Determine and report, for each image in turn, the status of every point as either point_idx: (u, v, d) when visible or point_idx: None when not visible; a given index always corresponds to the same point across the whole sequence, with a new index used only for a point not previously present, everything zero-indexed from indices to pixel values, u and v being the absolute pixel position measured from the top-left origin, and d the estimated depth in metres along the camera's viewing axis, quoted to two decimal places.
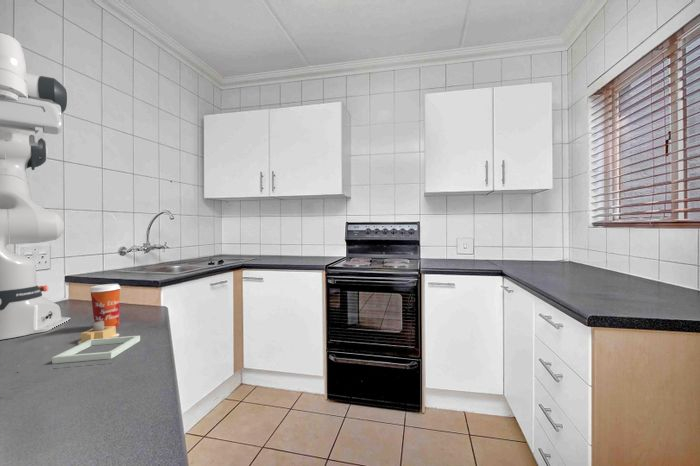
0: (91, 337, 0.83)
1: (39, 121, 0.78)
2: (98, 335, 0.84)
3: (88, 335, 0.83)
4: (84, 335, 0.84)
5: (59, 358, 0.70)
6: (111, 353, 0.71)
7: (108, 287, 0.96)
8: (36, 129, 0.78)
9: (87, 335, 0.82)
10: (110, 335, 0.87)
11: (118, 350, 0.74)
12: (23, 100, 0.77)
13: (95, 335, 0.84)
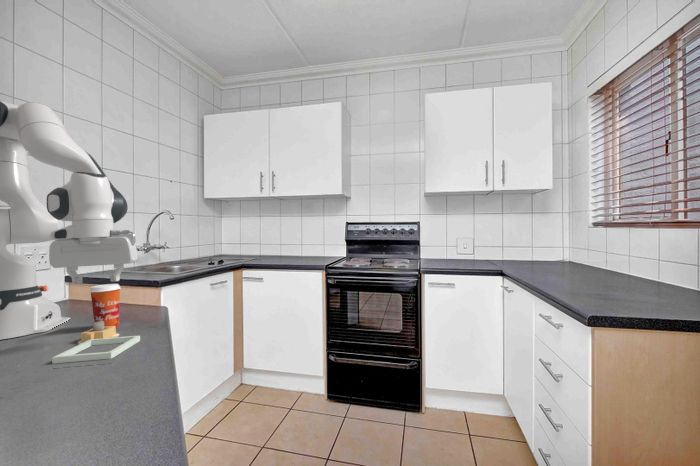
0: (91, 337, 0.83)
1: (114, 261, 0.85)
2: (98, 335, 0.84)
3: (88, 335, 0.83)
4: (84, 335, 0.84)
5: (59, 358, 0.70)
6: (111, 353, 0.71)
7: (108, 287, 0.96)
8: (114, 267, 0.86)
9: (87, 335, 0.82)
10: (110, 335, 0.87)
11: (118, 350, 0.74)
12: (103, 241, 0.85)
13: (95, 335, 0.84)
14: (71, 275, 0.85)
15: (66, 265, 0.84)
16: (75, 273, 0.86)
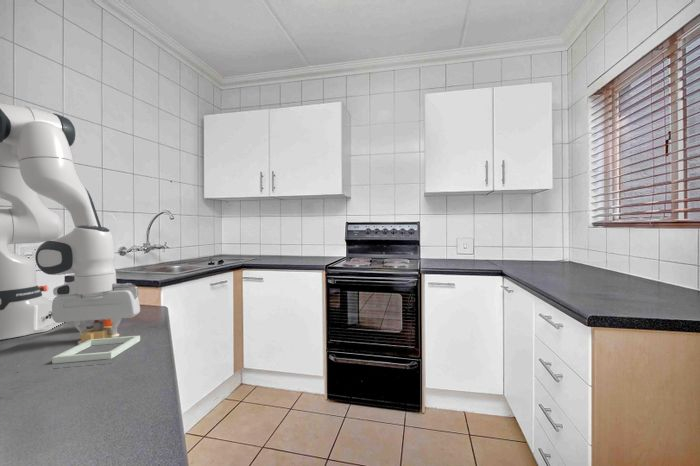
0: (91, 337, 0.83)
1: (117, 315, 0.85)
2: (98, 335, 0.84)
3: (88, 335, 0.83)
4: (84, 335, 0.84)
5: (59, 358, 0.70)
6: (111, 353, 0.71)
7: None
8: (112, 321, 0.86)
9: (87, 335, 0.82)
10: (110, 335, 0.87)
11: (118, 350, 0.74)
12: (106, 296, 0.85)
13: (95, 335, 0.84)
14: (79, 329, 0.85)
15: (69, 320, 0.84)
16: (83, 326, 0.86)
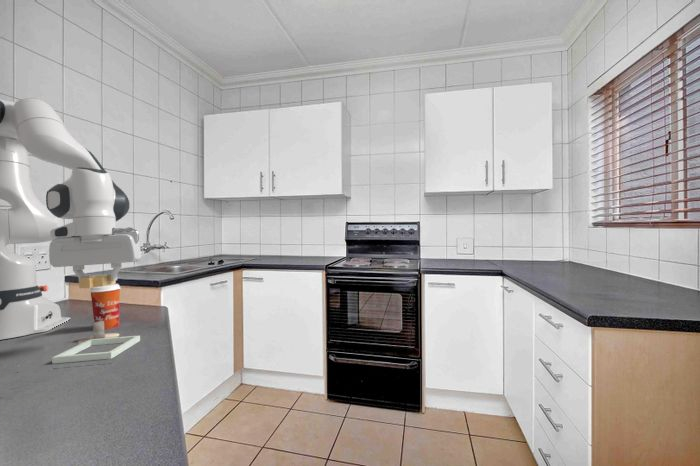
0: (90, 281, 0.80)
1: (117, 259, 0.82)
2: (97, 280, 0.81)
3: (87, 279, 0.79)
4: (82, 280, 0.80)
5: (59, 358, 0.70)
6: (111, 353, 0.71)
7: (108, 287, 0.96)
8: (112, 266, 0.83)
9: (86, 279, 0.79)
10: (110, 282, 0.84)
11: (118, 350, 0.74)
12: (106, 239, 0.82)
13: (94, 280, 0.81)
14: (78, 274, 0.82)
15: (67, 264, 0.81)
16: (82, 272, 0.83)
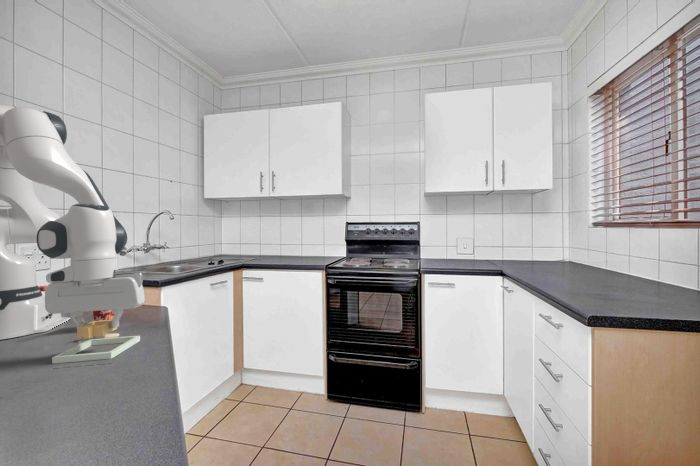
0: (89, 331, 0.72)
1: (119, 305, 0.75)
2: (97, 329, 0.74)
3: (85, 329, 0.72)
4: (81, 329, 0.73)
5: (59, 358, 0.70)
6: (111, 353, 0.71)
7: None
8: (113, 313, 0.76)
9: (84, 329, 0.72)
10: (111, 329, 0.77)
11: (118, 350, 0.74)
12: (106, 283, 0.75)
13: (93, 329, 0.73)
14: (76, 321, 0.75)
15: (64, 311, 0.74)
16: (80, 318, 0.76)
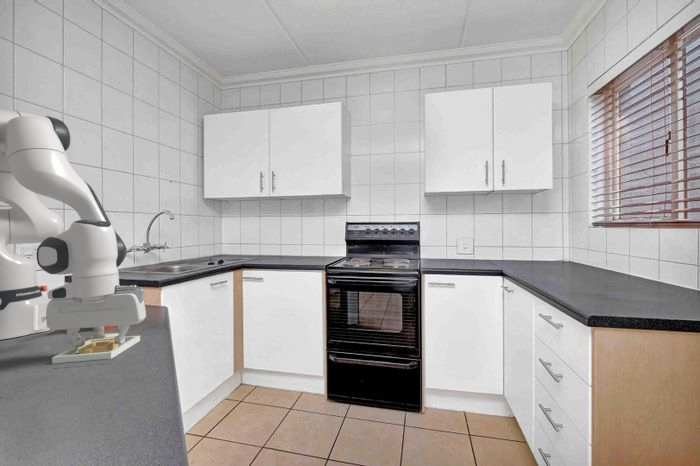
0: None
1: (120, 321, 0.75)
2: (98, 351, 0.74)
3: (87, 351, 0.72)
4: (82, 351, 0.73)
5: (59, 358, 0.70)
6: (111, 353, 0.71)
7: None
8: (119, 328, 0.76)
9: (86, 351, 0.72)
10: None
11: (118, 350, 0.74)
12: (108, 300, 0.75)
13: (95, 351, 0.74)
14: (72, 338, 0.75)
15: (65, 327, 0.74)
16: (77, 334, 0.76)
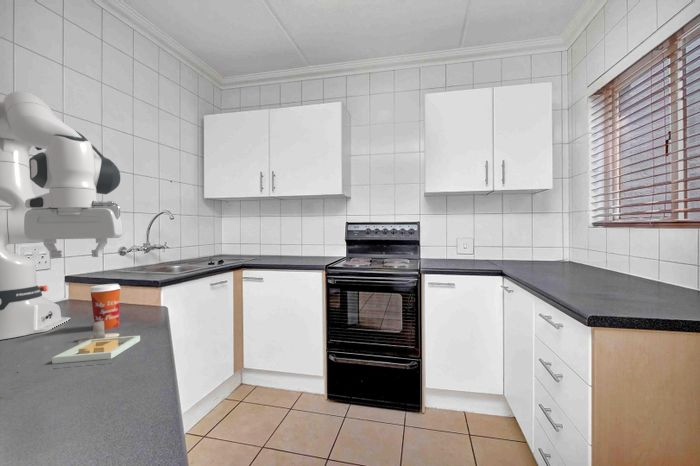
0: None
1: (96, 234, 0.78)
2: (98, 351, 0.74)
3: (87, 351, 0.72)
4: (82, 351, 0.73)
5: (59, 358, 0.70)
6: (111, 353, 0.71)
7: (108, 287, 0.96)
8: (96, 242, 0.79)
9: (86, 351, 0.72)
10: None
11: (118, 350, 0.74)
12: (84, 213, 0.77)
13: (95, 351, 0.74)
14: (48, 248, 0.77)
15: (43, 237, 0.76)
16: (53, 246, 0.79)
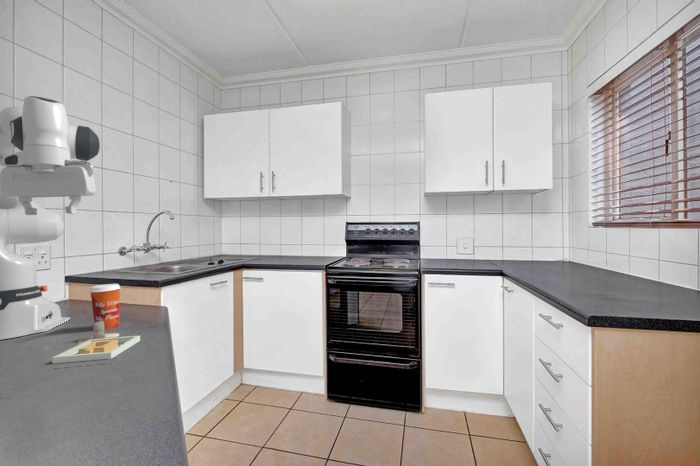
0: None
1: (69, 191, 0.81)
2: (98, 351, 0.74)
3: (87, 351, 0.72)
4: (82, 351, 0.73)
5: (59, 358, 0.70)
6: (111, 353, 0.71)
7: (108, 287, 0.96)
8: (70, 198, 0.82)
9: (86, 351, 0.72)
10: None
11: (118, 350, 0.74)
12: (58, 170, 0.81)
13: (95, 351, 0.74)
14: (24, 205, 0.81)
15: (18, 194, 0.80)
16: (29, 204, 0.82)
